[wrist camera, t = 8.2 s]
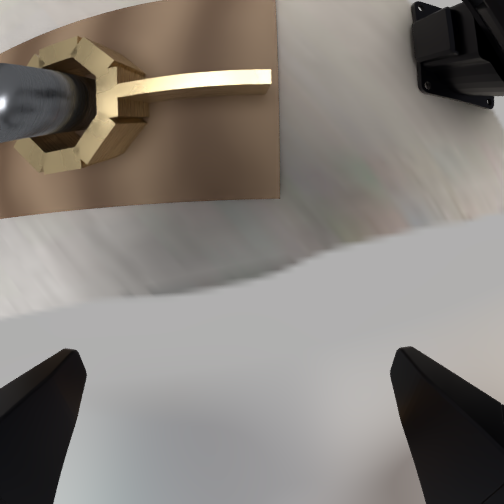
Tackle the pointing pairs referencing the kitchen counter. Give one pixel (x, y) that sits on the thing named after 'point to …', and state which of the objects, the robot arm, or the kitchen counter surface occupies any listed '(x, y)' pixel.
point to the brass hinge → (120, 102)
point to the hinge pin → (43, 102)
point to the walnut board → (168, 113)
